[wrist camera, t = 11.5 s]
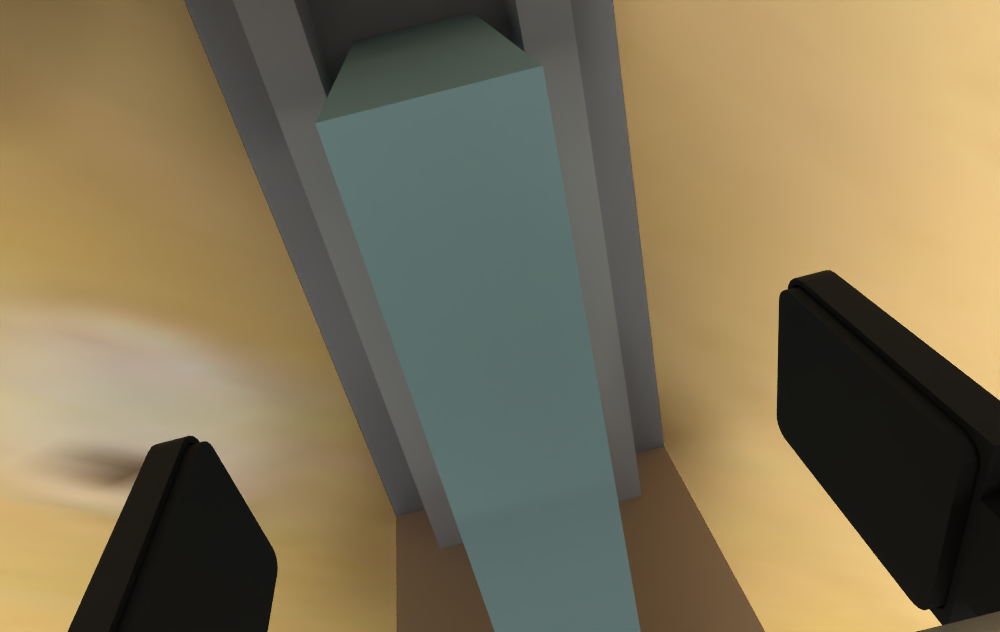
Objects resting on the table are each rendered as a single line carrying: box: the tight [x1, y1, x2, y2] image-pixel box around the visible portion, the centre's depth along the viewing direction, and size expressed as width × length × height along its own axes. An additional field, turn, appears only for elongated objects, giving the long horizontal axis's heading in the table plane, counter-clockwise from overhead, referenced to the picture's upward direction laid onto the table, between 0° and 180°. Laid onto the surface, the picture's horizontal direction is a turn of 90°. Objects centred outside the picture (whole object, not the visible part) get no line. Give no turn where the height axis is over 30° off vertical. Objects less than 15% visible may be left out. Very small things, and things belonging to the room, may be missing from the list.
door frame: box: [184, 0, 765, 632], centre depth 15 cm, size 22×10×12 cm, turn 12°
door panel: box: [315, 12, 641, 632], centre depth 15 cm, size 12×3×9 cm, turn 12°
